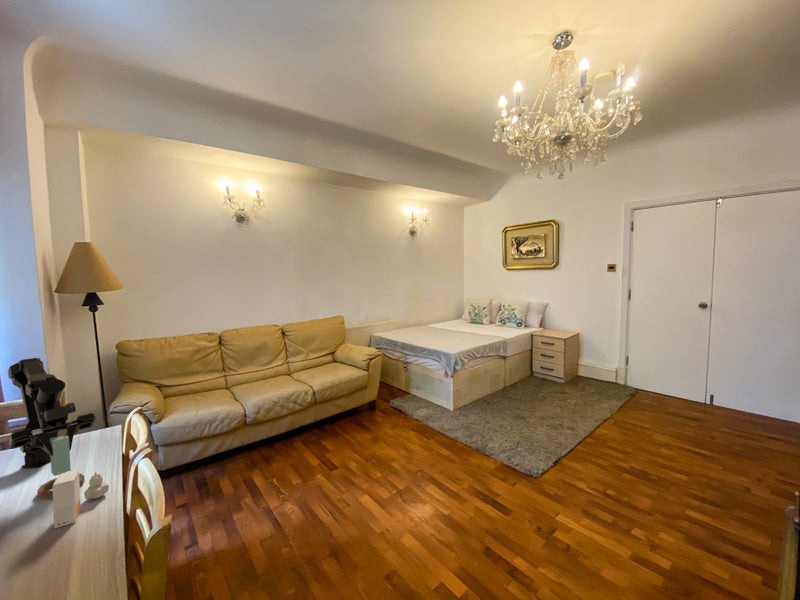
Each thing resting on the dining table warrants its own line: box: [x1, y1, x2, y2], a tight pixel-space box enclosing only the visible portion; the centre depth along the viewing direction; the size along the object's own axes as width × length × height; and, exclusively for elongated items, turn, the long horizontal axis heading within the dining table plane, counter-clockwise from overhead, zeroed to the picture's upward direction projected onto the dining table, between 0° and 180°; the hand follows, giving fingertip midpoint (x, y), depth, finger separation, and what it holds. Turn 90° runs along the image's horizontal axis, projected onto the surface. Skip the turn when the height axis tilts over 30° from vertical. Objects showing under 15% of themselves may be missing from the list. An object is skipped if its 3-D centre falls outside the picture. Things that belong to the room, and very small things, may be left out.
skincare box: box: [52, 470, 82, 529], centre depth 90 cm, size 6×4×12 cm
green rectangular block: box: [50, 433, 72, 477], centre depth 103 cm, size 4×4×11 cm
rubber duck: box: [83, 471, 109, 500], centre depth 99 cm, size 5×7×8 cm
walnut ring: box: [36, 473, 85, 500], centre depth 104 cm, size 10×10×2 cm
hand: (61, 452), depth 103 cm, fingers closed on green rectangular block, 4 cm apart
